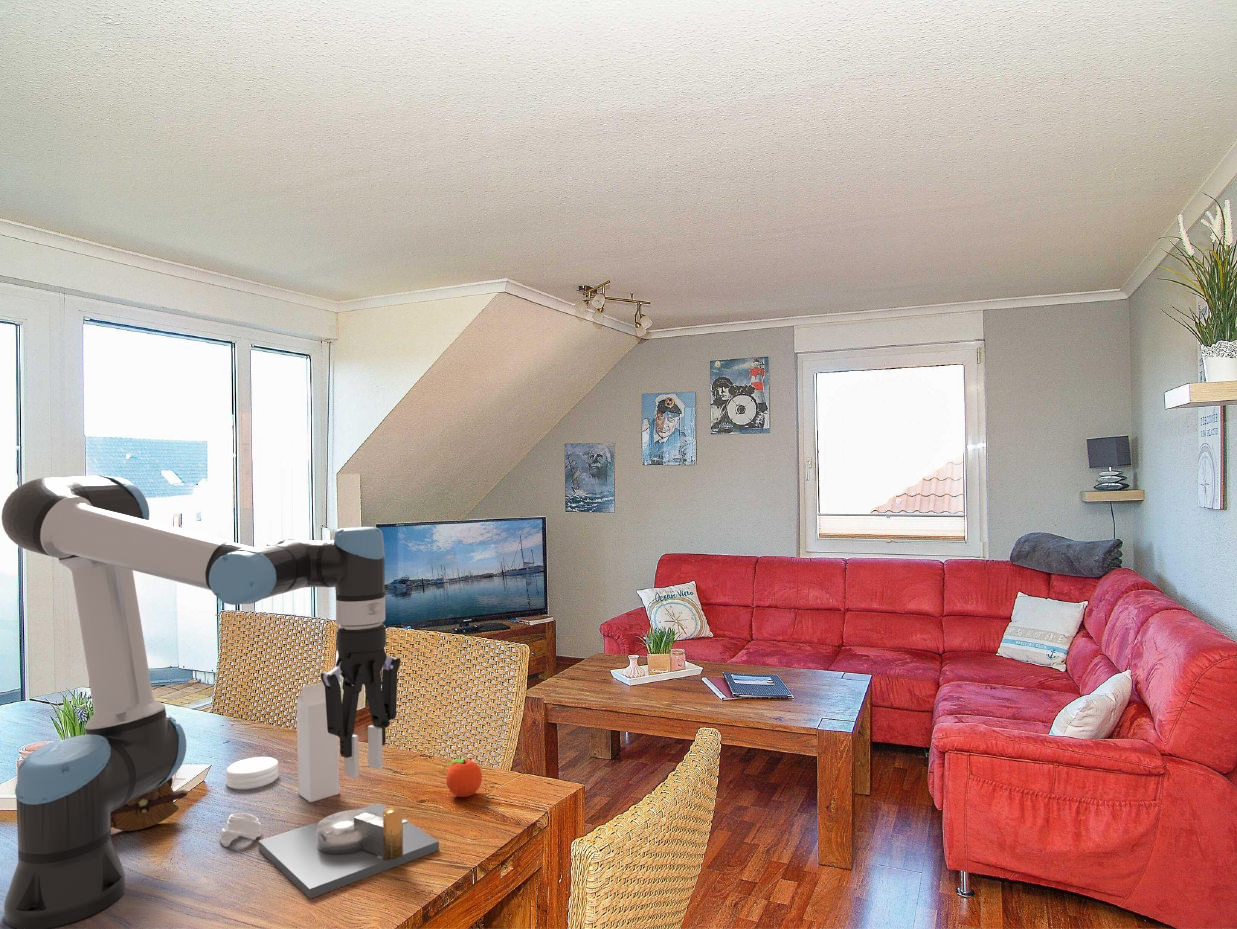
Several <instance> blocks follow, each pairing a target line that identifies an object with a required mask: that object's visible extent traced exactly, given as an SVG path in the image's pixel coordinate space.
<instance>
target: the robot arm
mask: <svg viewBox="0 0 1237 929" xmlns="http://www.w3.org/2000/svg"><path fill="white" fill-rule="evenodd" d="M1 524H2V528H3V530H4V532H5V533H6V535H7V537H8V538H9V539H10V540H11V541H12V542H13V543H14V544H16V546H19V547H20V548H23V549H24V550H27V551H30V552H34V553H36V554H41V555H45V556H49V557H53V558H56V559H58V563H60V564H62V566H65V567H67V568H68V569H69V570H70V572H71V574H72V575H71V576H72V580H73V581H72V582H73V587H74V595H75V599H76V606H77V613H78V619H79V626H80V631H81V639H82V645H83V651H84V655H85V656H84V657H85V662H86V663H85V664H86V668H87V677H88V683H89V689H90V696H91V702H92V708H93V715H92V716H91V717H90V719H89V720H88V722H86V724H85V725H84V730H85V733H86V734H81V735H80V734H79V735H74V736H73V735H72V736H68V737H66V738H64V739H63V740H61V739H60V740H59V739H58V740H54V741H52V742H50V743H47V744H44V745H42V746H41V747H39V748H37V749H35V750H34V751H32V752H30V753H29V754H28V755H27V756H25V757H24V759H22V761H21V762H20V764H19V766H18V769H17V778H16V779H17V781H16V786H15V792H14V794H15V797H16V798H15V799H16V820H17V821H16V824H17V827H16V828H17V857H18V858H17V859H18V860H17V865H16V868H15V871H14V873H13V876H12V879H11V883H10V886H9V887H8V891H7V893H6V894H7V895H6V897H5V899H4V904H3V909H4V910H3V911H4V912H3V913H4V914H3V916H4V917H3V918H4V923H5V924H6V925H7V926H9V927H10V928H14V929H51V928H56V927H60V926H64V925H68V924H71V923H75V922H78V921H81V920H83V919H86V918H88V917H92V916H93V915H96V914H98V913H99V912H102V911H103V910H105V909H106V908H108V907H110V906H111V905H113V904H114V903H115V902H117V901H118V900H119V899H120V897H122V895H123V894H124V892H125V891H126V874H125V870H124V867H123V864H122V862H121V860H120V858H119V855H118V854H117V853H118V852H117V851H116V849H115V845H114V844H113V841H112V831H111V830H112V828H111V812H113V811H114V810H116V809H118V808H120V807H122V806H124V805H125V804H127V803H129V802H131V801H133V800H134V799H136V798H138V797H140V796H142V795H143V794H145V793H149V792H151V791H153V790H155V789H157V788H158V787H160V786H161V785H162V784H163V783H164V782H166V781H167V780H169V779H170V778H171V777H172V778H173V777H174V775H176V774H177V772H178V771H179V770H180V768H181V767H182V765H183V762H184V761H185V757H186V753H187V738H186V734H185V730H184V728H183V726H182V725H181V724H180V723H177V720H176V718H174V717H172V715H171V716H170V715H168V714H167V711H166V706H165V704H163V703H162V702H159V701H158V700H156V699H155V698H154V694H153V688H152V682H151V677H150V671H149V670H150V669H149V665H148V663H149V662H148V658H147V657H148V656H147V651H146V646H145V638H144V632H143V626H142V620H141V614H140V607H139V603H138V594H137V589H136V583H135V582H136V581H135V578H134V577H135V576H134V572H138V573H143V574H146V575H150V576H153V577H156V578H157V577H158V578H162V579H165V580H169V581H174V582H177V583H181V584H185V585H188V586H192V587H193V586H194V587H196V588H201V589H204V590H208V591H211V592H212V594H213V595H214V596H216V597H217V598H218V599H219V601H220V602H222V603H225V604H227V605H231V606H232V605H233V606H239V605H249V604H254V603H257V602H259V601H262V600H264V599H268V598H270V597H274V596H277V595H280V594H281V595H282V594H285V593H288V592H292V591H295V590H299V589H303V588H335V589H334V590H335V624H337V625H338V626H339V627H337V628H336V633H335V635H336V636H335V637H336V638H335V639H336V650H337V653H338V658H337V660H336V662H335V666H334V668H332V669H331V670H329V671H328V672H327V671H323V672H322V673H320V680H321V683H323V684H324V686H325V698H326V714H327V730H328V733H330V734H333V735H336V736H338V738H339V755H340V757H342V758H343V760H344V761H343V763H344V764H343V765H344V766H343V767H344V768H343V769H344V770H343V771H344V776H346V777H349V778H351V779H354V780H355V779H357V778H359V777H360V773H359V772H360V771H359V770H360V768H359V765H360V763H359V761H360V760H359V735H357V734H354V732H355V725H356V718H357V712H358V705H359V704H358V703H359V696H360V693H361V692H362V689H363V685H364V687H365V693H366V697H367V702H368V703H367V704H368V708H369V714H370V720H371V723H372V724H371V725H367V753H368V754H367V756H368V759H367V762H368V768H371V769H372V768H373V769H375V770H378V771H380V770H382V769H384V766H383V765H384V764H383V746H385V744H386V728H389V727H390V725H391V720H395V719H396V718H397V702H398V701H397V700H398V699H397V698H398V672H399V668H400V665H401V658H399V657H394V656H388V655H387V653H386V649H385V647H386V646H387V627H386V625H385V624H384V622H385V621H386V591H385V589H386V588H385V584H386V583H385V582H386V581H385V580H386V579H385V574H386V573H385V570H386V569H385V565H386V564H385V562H386V561H385V560H386V559H385V558H386V553H385V543H384V533H383V531H382V530H381V529H380V528H379V527H376V526H356V527H355V526H350V527H342V528H338V529H336V531H335V532H334V538H333V539H331V540H307V539H306V540H303V539H300V540H299V539H290V538H289V539H282V540H274V541H273V540H272V541H270V542H268V543H267V544H266V546H265V545H264V546H260V547H259V546H258V547H257V546H252V545H251V546H250V545H246V544H242V543H238V542H233V541H231V540H227V539H223V538H219V537H216V536H211V535H207V534H204V533H199V532H195V531H192V530H188V529H184V528H180V527H175V526H171V525H167V524H164V523H163V524H162V523H159V522H156V521H152V520H150V506H149V504H148V501H147V498H146V496H145V494H144V493H143V492H142V490H141V489H140V488H139V487H138V486H136V485H135V484H133V483H132V482H130V481H129V480H128V479H125V478H122V477H117V476H107V475H103V474H101V475H100V474H99V475H89V476H88V475H87V476H86V475H85V476H65V477H58V476H57V477H55V476H53V477H51V476H50V477H49V476H48V477H39V478H36V479H32V480H30V481H27V482H25V483H23V484H21V485H20V486H18V487H17V488H15V489H14V490H13V491H12V492H11V493H10V495H9V496H7V498H6V500H5V502H4V505H3V507H2V510H1ZM341 677H342V678H343V679H341ZM341 681H342V685H341V684H340V683H341ZM341 686H342V687H341ZM341 689H342V690H343V692H342V690H341Z"/></svg>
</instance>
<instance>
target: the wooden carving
mask: <svg viewBox="0 0 1237 929" xmlns="http://www.w3.org/2000/svg"><path fill="white" fill-rule="evenodd" d="M173 783H174V779H173V777H171V778H170V779H169V780H167V781H166V782H164V783H163V784H162V785H161V786H160V787H158V788H157V789H155V790H153V791H151V792H149V793H145V794H143V795H142V796H140V797H138V798H136V799H134V800H133V801H131V802H129V803H127V804H125V805H124V806H122V807H120V808H118V809H116V810H114V811H113V812H111V829H112V828H114V829H115V830H119V831H125V832H126V831H127V832H128V831H129V832H130V831H133V832H134V831H139V830H143V829H146V828H147V829H148V828H150V827H153V826H155V825H157V824H160V823H162V822H163V821H165V820H167V819H169V818H170V817H171V816H172V815H174V814H175V813H177V812H178V811H179V808H180V805H179V804H176V803H175V802H174V801H176V800H180V799H184V798H185V797H187V796H188V793H189V791H188V790H185V789H180V790H175V791H174V789H173V788H172V786H173Z"/></svg>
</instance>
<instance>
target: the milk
mask: <svg viewBox="0 0 1237 929" xmlns="http://www.w3.org/2000/svg"><path fill="white" fill-rule="evenodd" d="M296 733H297V734H296V735H297V736H296V737H297V746H296V747H297V789H298V795H299V796H301V797H302V798H303V799H305V801H306V800H307V801H308V803H313V802H317V801H320V800H323V799H327V798H329V797H333V796H336V795H340V761H339V760H340V756H339V755H340V741H339V736H336V735H333V734H330V733H328V730H327V714H326V698H325V686H324V684H323V682H319V683H314V684H309V685H308V684H307V685H303V686H302V687H301V694H300V696H299V697H298V698H297V699H296Z"/></svg>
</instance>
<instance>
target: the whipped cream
mask: <svg viewBox="0 0 1237 929" xmlns="http://www.w3.org/2000/svg"><path fill="white" fill-rule="evenodd" d="M226 823H227V824H226V827H222V829H221V830H220V839H219V840H220V843H221V845H222V846H223V847H225V848H229V847H230V845H231V843H232V842H233V841H234V840H237V839H238V838H239V837H243V838H246V839H249V840H253V841H256V839H257V838H259V837H261V836H262V834H261V832H262V829H261V828H262V824H261V822H260V820H259V818H258V817H257V816H255V815H253V814H251V813H242V812H241V813H239V812H238V813H237V812H236V813H232V814H229V816H228V819H227V821H226Z"/></svg>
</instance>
